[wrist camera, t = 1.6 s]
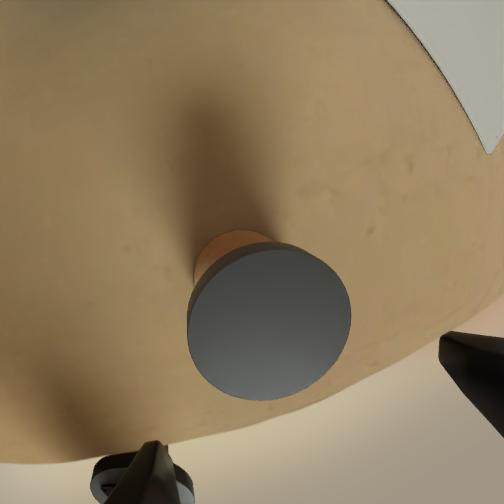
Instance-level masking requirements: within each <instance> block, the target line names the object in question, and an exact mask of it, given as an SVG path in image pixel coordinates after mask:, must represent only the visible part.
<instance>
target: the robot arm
mask: <svg viewBox="0 0 504 504" xmlns="http://www.w3.org/2000/svg"><path fill="white" fill-rule="evenodd" d="M438 357H439V361H440V363H441V364H442V366H443V367H444V368H445V370H446V371H447V372H448V374H449V375H450V376H451V378H452V379H453V380H454V382H455V383H456V384H457V386H458V387H459V388H460V390H461V391H462V392H463V393H464V394H465V396H466V397H467V398H468V399H469V400H470V401H471V402H472V404H473V405H475V407H476V408H477V409H478V410H479V411H480V412H481V413H482V414H483V415H484V417H485V418H486V419H487V420H488V421H489V422H490V423H491V424H492V425H493V426H494V428H495V429H496V430H497V431H498V432H499V433H500V434H501V436H502V437H503V438H504V338H500V337H492V336H484V335H477V334H468V333H462V332H455V331H449V332H447V333H445V334H444V335H442V336H441V337H440V340H439V356H438ZM100 489H101V491H102V492H103V493H104V494H105V495H106V496H107V497H108V498H107V499H106V500H105V502H104V503H103V504H181V503H180V497H179V493H178V487H177V482H176V477H175V471H174V466H173V462H172V459H171V457H170V455H169V454H168V452H167V451H166V449H165V448H164V446H163V445H162V443H161V442H160V441H158V440H155V441H149V442H146V443H144V445H143V446H142V447H141V449H140V450H139V452H138V453H137V455H136V456H135V458H134V459H133V461H132V462H131V464H130V465H129V467H128V468H127V470H126V471H125V473H124V474H123V476H122V477H121V479H120V480H119V481H118V483H115V484H103V485H101V488H100Z"/></svg>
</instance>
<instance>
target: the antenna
mask: <svg viewBox="0 0 504 504" xmlns="http://www.w3.org/2000/svg"><path fill="white" fill-rule="evenodd" d="M387 1H388V2H389V3H390V4H391V5H392V7H393V8H394V9H395V10H396V11H397V12H398V14H399V15H400V16H401V17H402V18H403V20H404V21H405V22H406V23H407V25H408V26H409V27H410V28H411V30H412V31H413V32H414V33H415V35H416V36H417V37H418V39H419V40H420V41H421V43H422V44H423V45H424V47H425V48H426V50H427V51H428V52H429V54H430V55H431V57H432V58H433V60H434V61H435V63H436V64H437V66H438V67H439V69H440V70H441V72H442V73H443V75H444V76H445V78H446V79H447V81H448V83H449V84H450V86H451V87H452V89H453V91H454V92H455V94H456V96H457V97H458V99H459V101H460V103H461V104H462V106H463V108H464V110H465V112H466V113H467V115H468V117H469V119H470V121H471V123H472V125H473V127H474V129H475V131H476V133H477V135H478V137H479V139H480V141H481V143H482V145H483V147H484V149H485V151H486V153H487V154H491V153H492V152H493V150H494V149H495V147H496V145H497V144H498V142H499V141H500V139H501V137H502V136H503V134H504V0H387ZM496 137H497V138H496Z"/></svg>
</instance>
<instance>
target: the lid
mask: <svg viewBox="0 0 504 504" xmlns="http://www.w3.org/2000/svg"><path fill="white" fill-rule="evenodd" d="M350 325H351V306H350V301H349V297H348V294H347V291H346V288H345V286H344V285H343V283H342V281H341V279H340V278H339V277H338V275H337V274H336V273H335V272H334V271H333V270H332V269H331V268H330V267H329V266H328V265H327V264H326V263H324V262H323V261H321V260H320V259H318V258H317V257H315V256H313V255H312V254H310V253H308V252H307V251H305V250H303V249H301V248H299V247H296V246H293V245H290V244H286V243H281V242H258V243H253V244H248V245H245V246H242V247H239V248H237V249H234V250H232V251H231V252H229V253H227V254H225V255H224V256H222V257H221V258H219V259H218V260H216V261H215V262H214V263H213V264H212V265H211V266H210V267H209V268H208V269H207V270H206V271H205V272H204V274H203V275H202V276H201V278H200V279H199V281H198V282H197V284H196V286H195V288H194V290H193V292H192V294H191V297H190V301H189V304H188V311H187V339H188V346H189V351H190V354H191V357H192V359H193V361H194V363H195V365H196V367H197V369H198V370H199V372H200V373H201V374H202V376H203V377H204V378H205V379H206V380H207V381H208V382H209V383H211V384H212V385H213V386H214V387H216V388H217V389H219V390H221V391H222V392H224V393H227V394H229V395H231V396H234V397H238V398H241V399H247V400H259V401H262V400H273V399H279V398H283V397H286V396H290V395H292V394H295V393H297V392H299V391H301V390H303V389H305V388H307V387H309V386H310V385H312V384H313V383H314V382H316V381H317V380H318V379H320V378H321V377H322V376H323V375H324V374H325V373H326V372H327V371H328V370H329V369H330V368H331V367H332V365H333V364H334V363H335V362H336V360H337V359H338V357H339V355H340V354H341V352H342V350H343V348H344V346H345V344H346V341H347V338H348V335H349V330H350Z"/></svg>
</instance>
